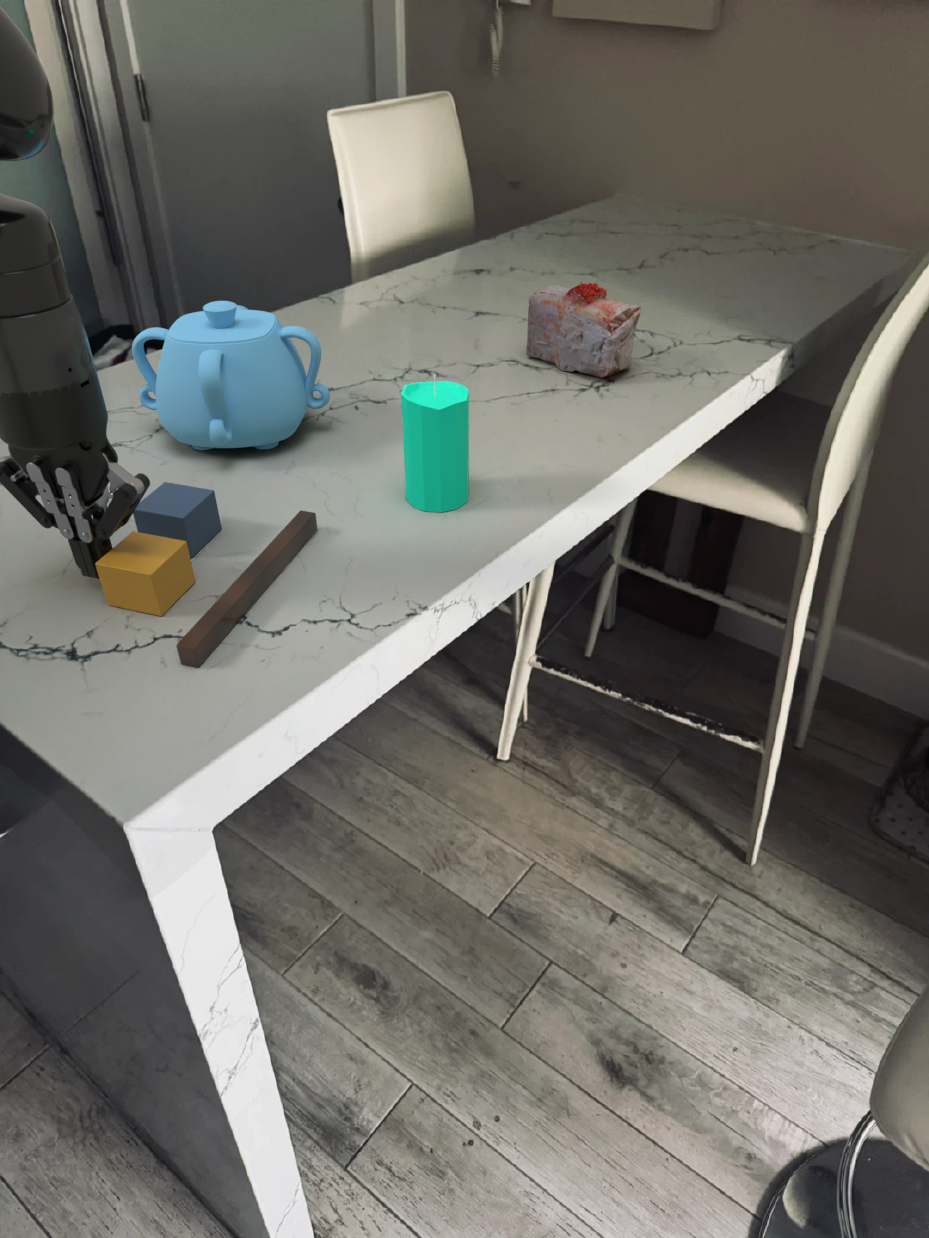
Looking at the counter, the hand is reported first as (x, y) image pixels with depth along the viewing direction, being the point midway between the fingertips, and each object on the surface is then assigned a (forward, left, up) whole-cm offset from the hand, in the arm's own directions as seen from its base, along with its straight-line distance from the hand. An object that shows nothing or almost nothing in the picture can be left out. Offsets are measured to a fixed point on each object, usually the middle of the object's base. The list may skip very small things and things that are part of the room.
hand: (99, 572), depth 71 cm
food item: (+59, -28, -1) cm, 65 cm away
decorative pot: (+29, +3, -1) cm, 29 cm away
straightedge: (+3, -13, -1) cm, 13 cm away
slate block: (+8, -3, -1) cm, 8 cm away
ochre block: (0, -5, -1) cm, 5 cm away
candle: (+22, -22, -1) cm, 31 cm away
